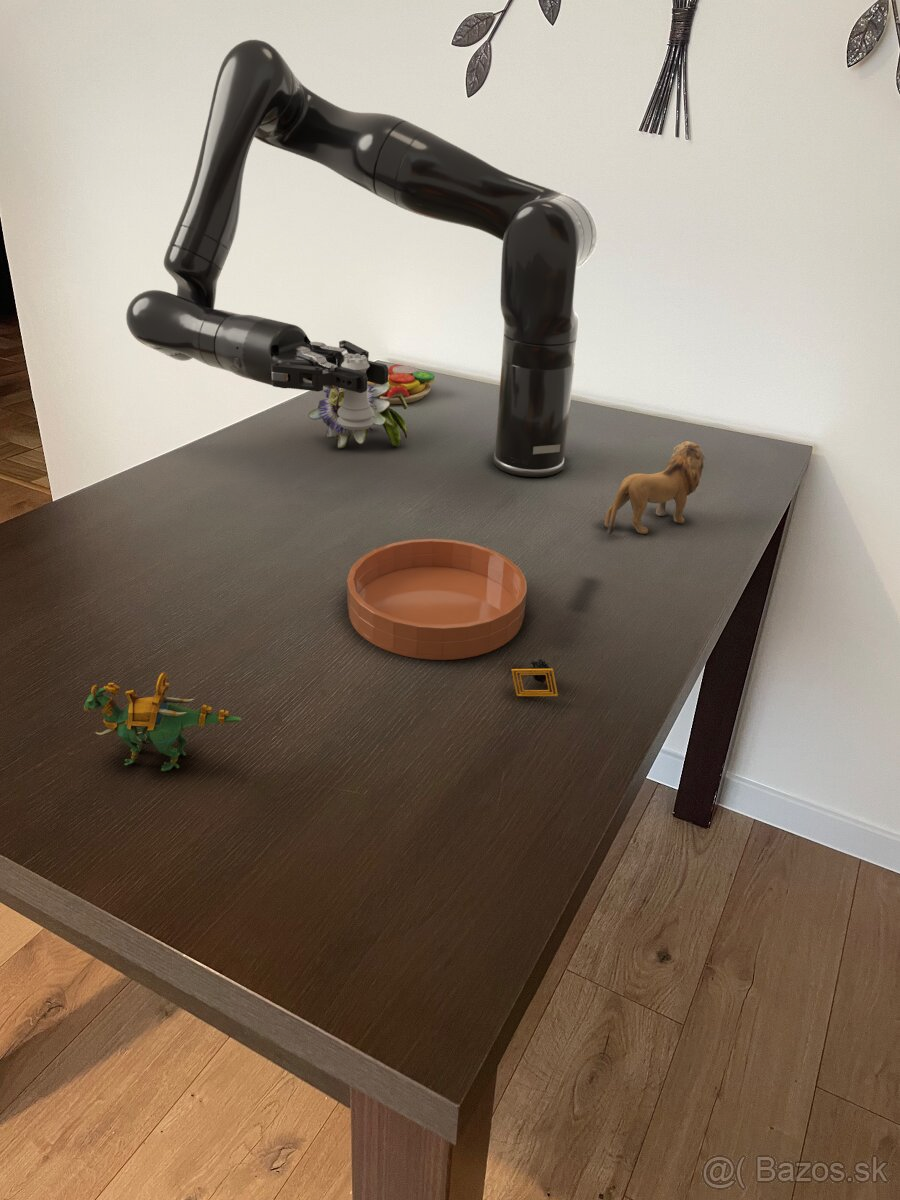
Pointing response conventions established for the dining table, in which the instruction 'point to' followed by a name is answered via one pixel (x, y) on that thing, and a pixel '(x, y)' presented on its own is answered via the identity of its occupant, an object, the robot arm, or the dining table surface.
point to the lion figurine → (660, 487)
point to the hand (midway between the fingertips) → (375, 379)
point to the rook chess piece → (355, 400)
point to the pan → (436, 599)
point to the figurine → (152, 719)
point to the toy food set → (406, 384)
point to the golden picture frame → (539, 674)
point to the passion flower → (382, 415)
